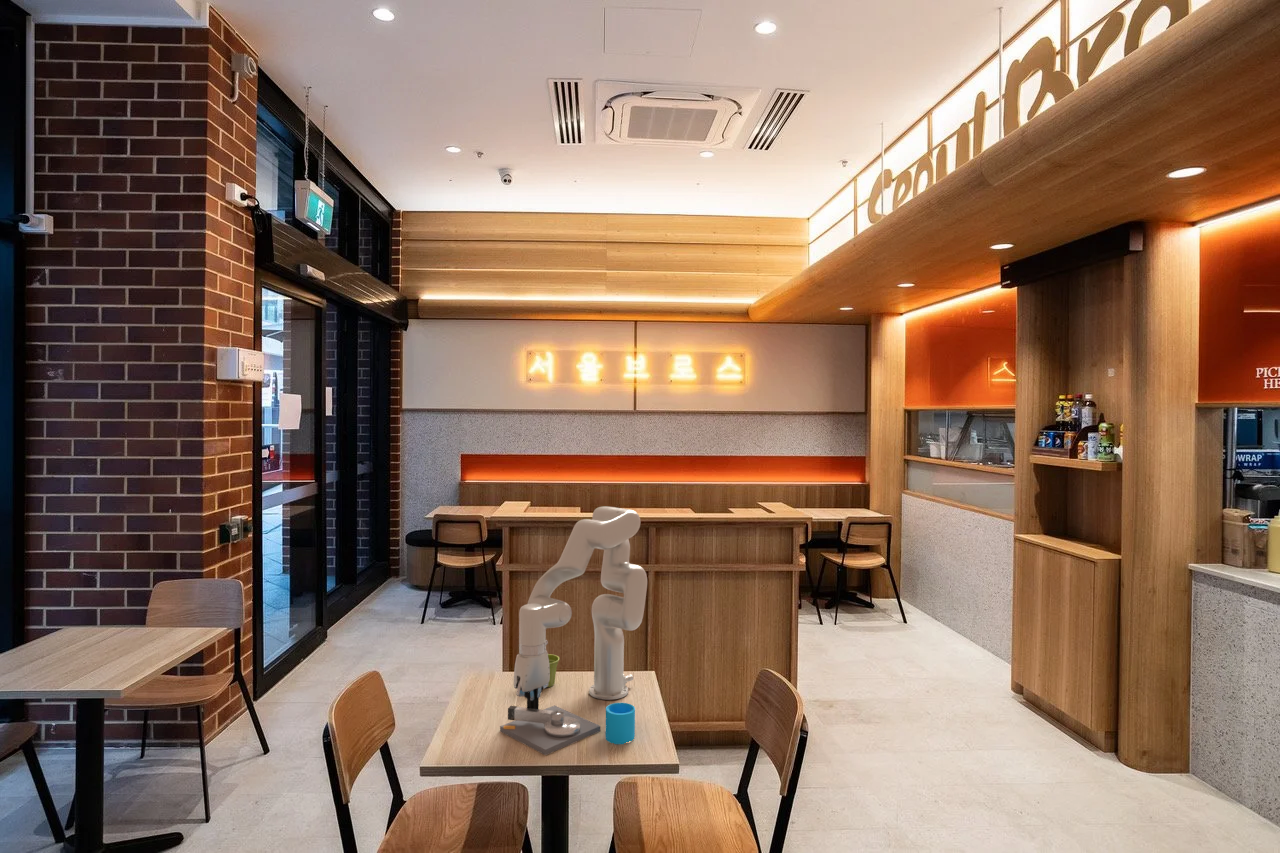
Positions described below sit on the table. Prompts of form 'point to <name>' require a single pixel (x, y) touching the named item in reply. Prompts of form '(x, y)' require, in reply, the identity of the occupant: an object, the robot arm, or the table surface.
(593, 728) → the stand base
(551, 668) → the plant pot
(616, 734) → the mug
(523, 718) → the lever
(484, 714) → the table surface
